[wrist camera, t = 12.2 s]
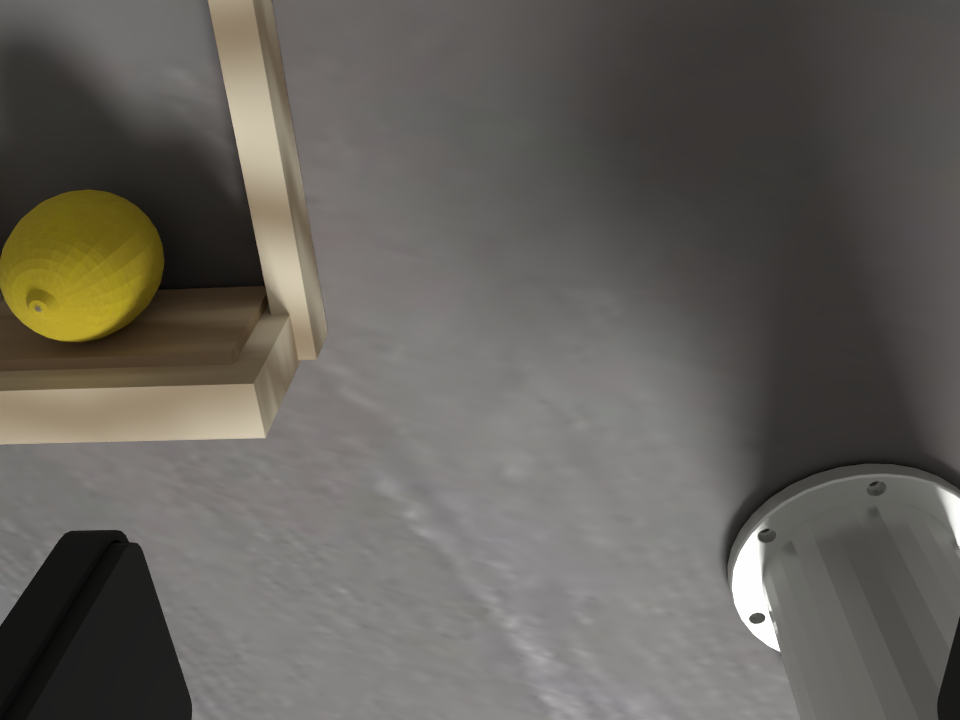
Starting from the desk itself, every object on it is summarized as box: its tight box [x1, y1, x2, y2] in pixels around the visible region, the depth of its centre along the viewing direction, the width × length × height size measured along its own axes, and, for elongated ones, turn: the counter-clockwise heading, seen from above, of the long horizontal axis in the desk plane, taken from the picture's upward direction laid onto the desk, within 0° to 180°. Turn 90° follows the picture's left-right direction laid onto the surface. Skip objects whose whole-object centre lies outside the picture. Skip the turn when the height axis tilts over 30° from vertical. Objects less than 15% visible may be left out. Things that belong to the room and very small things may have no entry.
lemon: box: [0, 189, 164, 342], centre depth 36 cm, size 6×6×8 cm
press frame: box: [0, 0, 328, 444], centre depth 32 cm, size 26×16×8 cm, turn 4°
